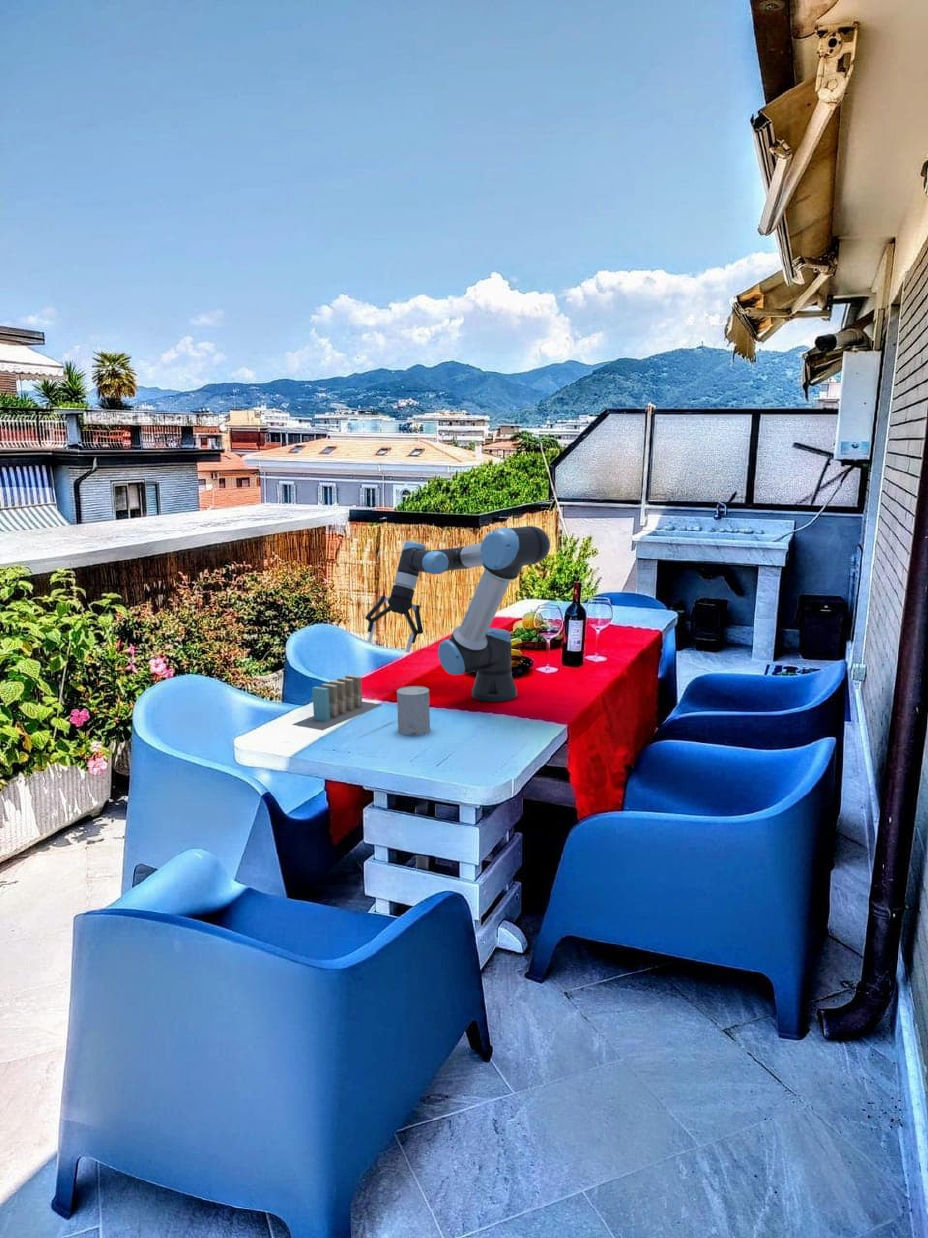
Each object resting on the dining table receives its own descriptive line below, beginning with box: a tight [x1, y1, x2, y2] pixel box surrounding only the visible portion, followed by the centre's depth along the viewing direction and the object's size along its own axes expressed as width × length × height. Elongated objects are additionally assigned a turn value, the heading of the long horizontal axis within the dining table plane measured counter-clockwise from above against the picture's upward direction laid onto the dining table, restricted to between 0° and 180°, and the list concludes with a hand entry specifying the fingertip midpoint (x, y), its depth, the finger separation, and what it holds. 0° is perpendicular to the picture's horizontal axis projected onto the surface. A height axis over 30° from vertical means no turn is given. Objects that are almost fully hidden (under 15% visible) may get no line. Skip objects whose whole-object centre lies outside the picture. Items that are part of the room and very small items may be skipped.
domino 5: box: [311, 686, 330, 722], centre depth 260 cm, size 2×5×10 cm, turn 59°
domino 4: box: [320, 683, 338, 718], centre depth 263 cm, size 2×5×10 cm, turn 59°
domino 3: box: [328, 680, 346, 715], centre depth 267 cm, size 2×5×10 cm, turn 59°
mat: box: [291, 700, 383, 731], centre depth 266 cm, size 30×12×1 cm, turn 149°
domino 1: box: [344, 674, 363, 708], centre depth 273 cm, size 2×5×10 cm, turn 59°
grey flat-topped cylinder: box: [396, 685, 431, 737], centre depth 251 cm, size 10×10×12 cm
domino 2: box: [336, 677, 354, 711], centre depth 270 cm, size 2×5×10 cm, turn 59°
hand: (388, 647), depth 289 cm, fingers open, 13 cm apart
